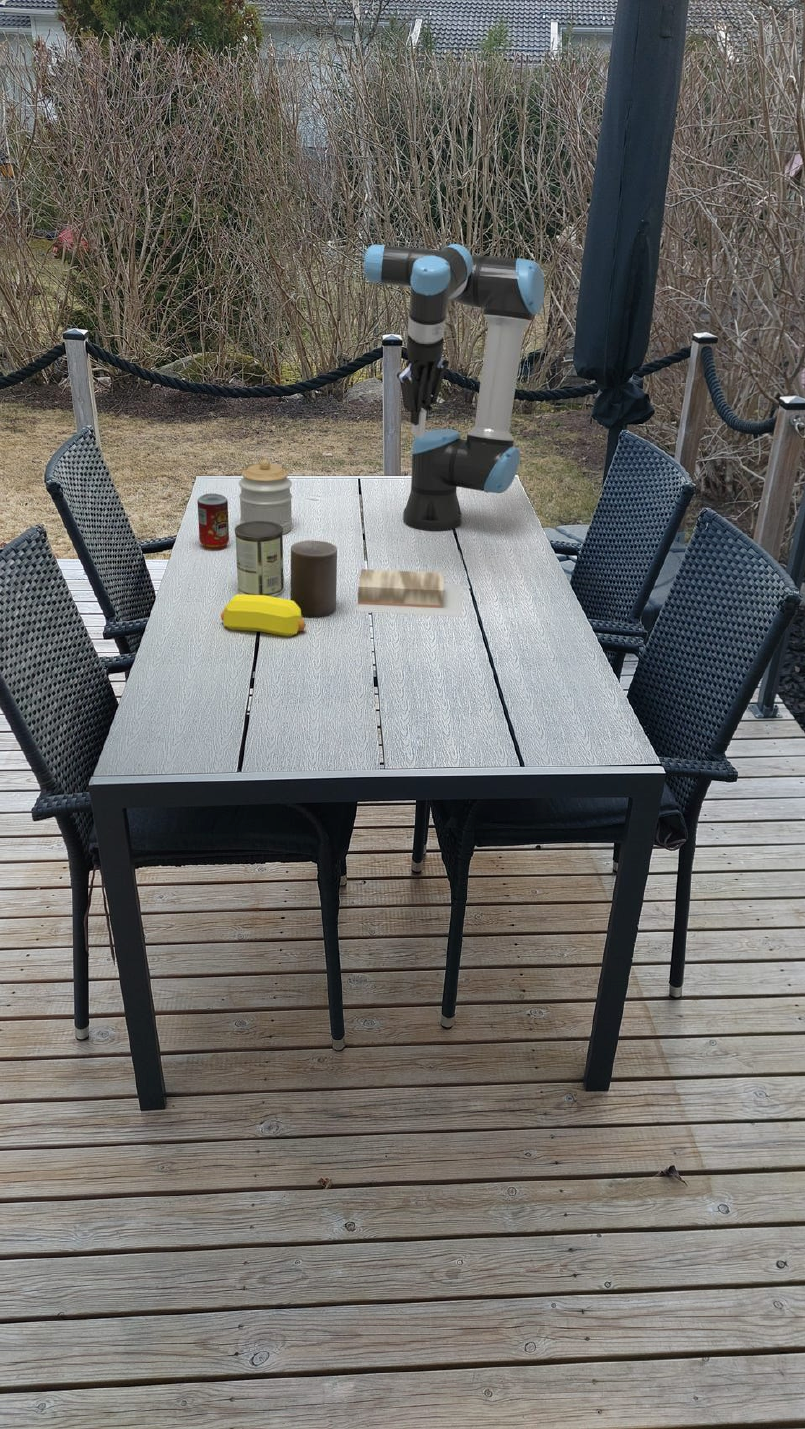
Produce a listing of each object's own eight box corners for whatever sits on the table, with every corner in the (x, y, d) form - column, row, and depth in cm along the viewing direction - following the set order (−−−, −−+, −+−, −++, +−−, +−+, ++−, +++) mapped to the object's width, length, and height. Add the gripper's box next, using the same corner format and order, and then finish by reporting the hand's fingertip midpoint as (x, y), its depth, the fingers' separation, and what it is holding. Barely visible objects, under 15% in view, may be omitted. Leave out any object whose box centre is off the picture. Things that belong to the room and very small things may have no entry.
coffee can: (252, 577, 249) (250, 517, 243) (292, 586, 246) (291, 525, 239) (227, 593, 241) (225, 531, 234) (268, 602, 238) (267, 540, 231)
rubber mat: (461, 587, 249) (461, 584, 248) (462, 619, 233) (462, 616, 233) (363, 582, 249) (363, 579, 249) (357, 615, 233) (357, 611, 233)
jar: (302, 527, 280) (302, 458, 271) (270, 541, 270) (269, 470, 262) (262, 516, 286) (260, 449, 277) (229, 530, 276) (226, 460, 268)
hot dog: (227, 616, 231) (214, 631, 224) (226, 586, 228) (213, 600, 221) (310, 626, 228) (300, 641, 221) (310, 596, 225) (300, 610, 218)
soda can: (215, 553, 262) (213, 503, 256) (193, 547, 265) (190, 497, 259) (235, 545, 267) (233, 496, 261) (213, 539, 270) (211, 490, 264)
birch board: (443, 573, 243) (361, 569, 243) (443, 590, 234) (358, 586, 235) (442, 589, 245) (361, 586, 245) (442, 607, 236) (357, 603, 236)
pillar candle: (301, 621, 230) (301, 552, 222) (283, 603, 237) (283, 536, 230) (343, 614, 234) (345, 546, 227) (325, 597, 241) (326, 531, 234)
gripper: (413, 352, 223) (406, 452, 240) (461, 334, 229) (450, 433, 247) (389, 337, 227) (384, 436, 244) (437, 319, 233) (428, 418, 250)
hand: (417, 434), depth 245 cm, fingers closed
